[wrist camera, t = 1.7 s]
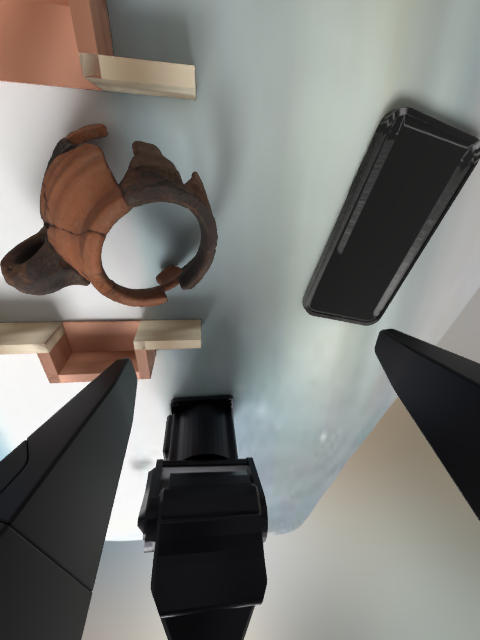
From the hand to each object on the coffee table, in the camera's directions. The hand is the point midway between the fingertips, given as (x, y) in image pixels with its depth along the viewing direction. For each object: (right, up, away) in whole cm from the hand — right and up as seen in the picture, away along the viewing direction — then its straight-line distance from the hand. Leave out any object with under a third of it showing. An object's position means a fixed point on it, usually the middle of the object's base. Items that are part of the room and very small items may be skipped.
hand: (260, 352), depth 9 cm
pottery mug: (-9, +8, +9) cm, 15 cm away
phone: (+10, +8, +12) cm, 18 cm away
